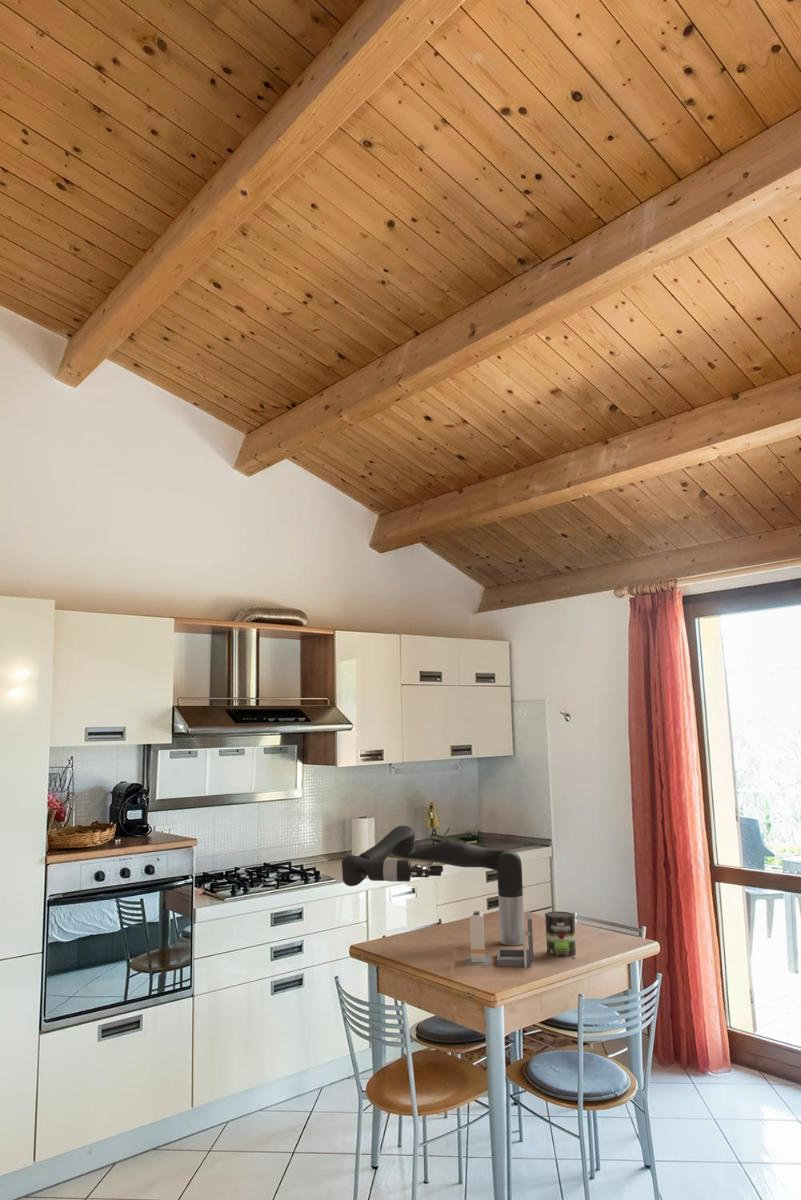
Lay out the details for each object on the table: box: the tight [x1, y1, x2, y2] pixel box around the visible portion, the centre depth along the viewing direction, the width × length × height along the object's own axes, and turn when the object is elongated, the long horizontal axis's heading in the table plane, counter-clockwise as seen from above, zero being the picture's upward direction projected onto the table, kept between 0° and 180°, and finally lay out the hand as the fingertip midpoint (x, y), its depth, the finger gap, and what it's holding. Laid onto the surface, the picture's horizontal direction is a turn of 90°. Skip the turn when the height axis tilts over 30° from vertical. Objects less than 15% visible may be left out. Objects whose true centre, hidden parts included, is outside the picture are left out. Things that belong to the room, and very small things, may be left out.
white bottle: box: [469, 910, 486, 962], centre depth 283 cm, size 5×4×16 cm
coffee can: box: [544, 911, 577, 959], centre depth 290 cm, size 10×10×14 cm
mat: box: [465, 955, 491, 966], centre depth 281 cm, size 12×8×1 cm, turn 173°
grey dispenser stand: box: [496, 910, 535, 969], centre depth 280 cm, size 15×12×16 cm
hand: (442, 870), depth 291 cm, fingers open, 8 cm apart
